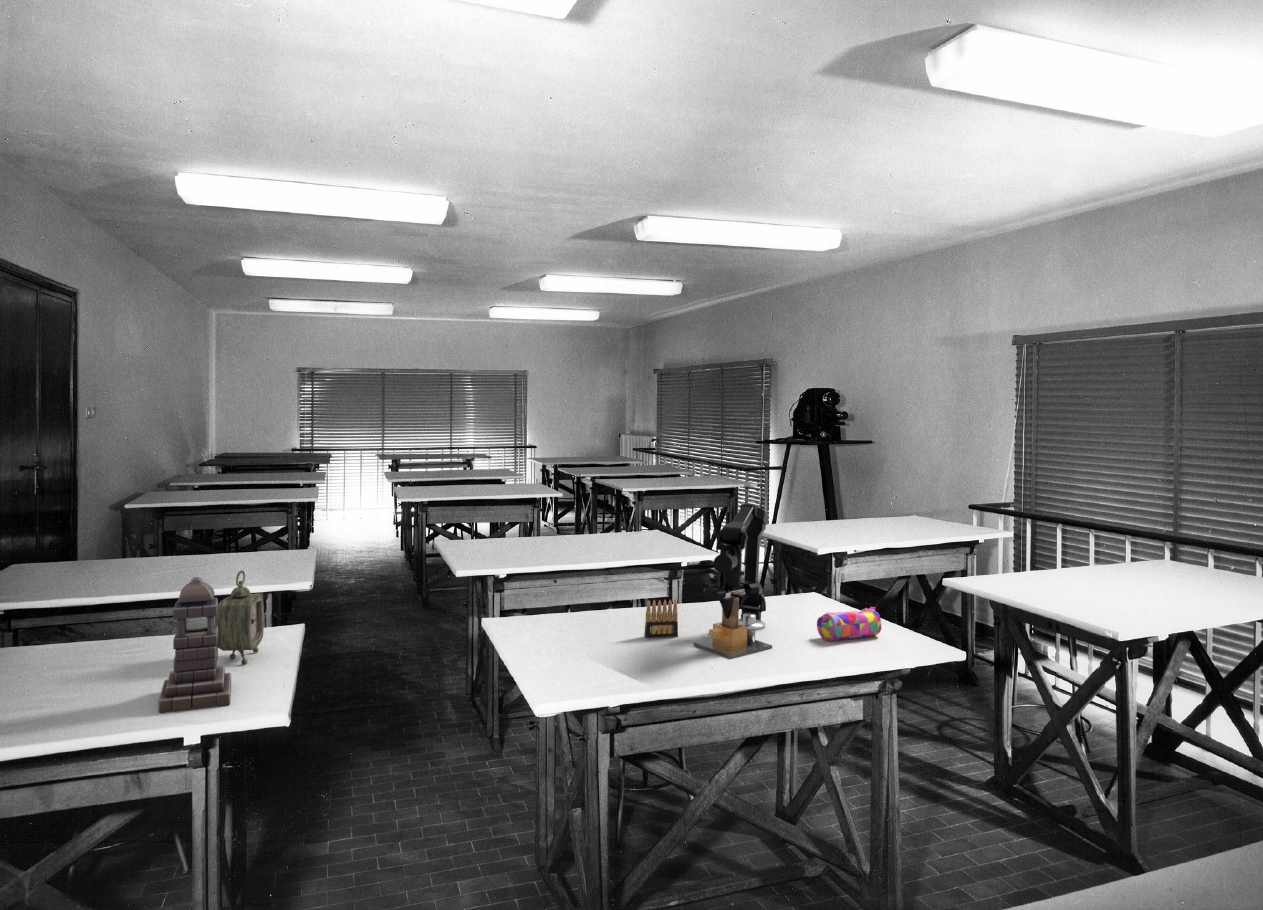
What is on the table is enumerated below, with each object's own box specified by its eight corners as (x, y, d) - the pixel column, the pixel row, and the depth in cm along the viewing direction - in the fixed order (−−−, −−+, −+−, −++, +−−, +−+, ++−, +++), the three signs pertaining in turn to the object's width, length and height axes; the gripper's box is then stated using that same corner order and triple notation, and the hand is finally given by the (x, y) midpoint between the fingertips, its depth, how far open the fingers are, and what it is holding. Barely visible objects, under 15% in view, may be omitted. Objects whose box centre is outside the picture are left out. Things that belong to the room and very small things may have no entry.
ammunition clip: (676, 635, 265) (677, 598, 264) (678, 636, 263) (679, 599, 262) (644, 636, 263) (645, 599, 262) (645, 638, 261) (646, 600, 260)
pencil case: (863, 630, 277) (864, 603, 276) (884, 637, 269) (885, 610, 268) (813, 637, 266) (814, 610, 266) (834, 645, 258) (835, 617, 257)
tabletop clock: (249, 666, 224) (248, 576, 223) (213, 667, 223) (213, 576, 221) (264, 650, 239) (263, 565, 237) (230, 651, 237) (230, 565, 235)
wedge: (727, 626, 255) (728, 594, 254) (738, 630, 251) (739, 597, 251) (721, 628, 253) (722, 596, 252) (732, 631, 250) (733, 599, 249)
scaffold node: (740, 634, 267) (741, 607, 267) (778, 646, 255) (779, 618, 254) (693, 645, 254) (694, 616, 253) (731, 658, 242) (732, 628, 241)
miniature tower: (164, 691, 205) (162, 572, 203) (231, 684, 211) (230, 568, 209) (158, 714, 190) (156, 586, 188) (230, 705, 196) (229, 581, 194)
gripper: (734, 559, 263) (732, 607, 264) (691, 566, 251) (690, 616, 252) (760, 565, 254) (758, 615, 255) (717, 572, 243) (715, 624, 244)
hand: (730, 617), depth 252 cm, fingers closed on wedge, 2 cm apart
